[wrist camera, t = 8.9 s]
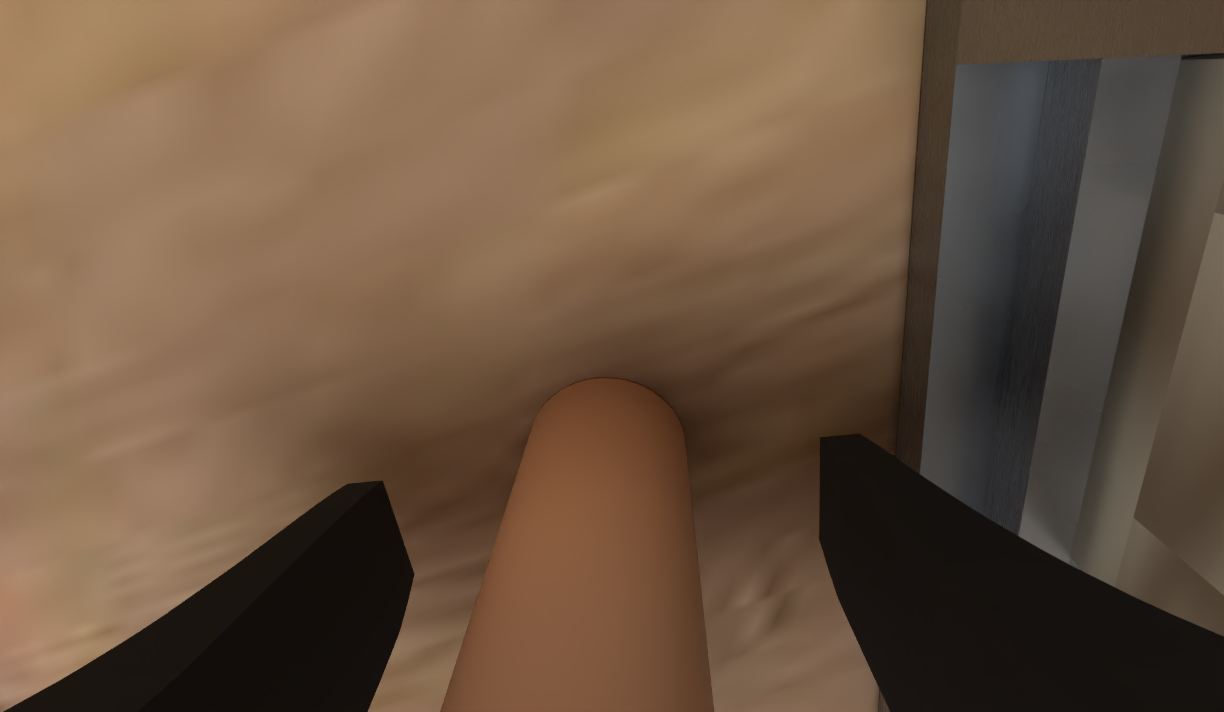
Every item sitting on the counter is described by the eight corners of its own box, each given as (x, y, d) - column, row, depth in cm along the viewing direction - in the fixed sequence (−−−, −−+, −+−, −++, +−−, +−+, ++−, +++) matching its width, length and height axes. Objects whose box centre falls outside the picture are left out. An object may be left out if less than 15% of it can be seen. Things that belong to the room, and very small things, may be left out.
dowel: (695, 500, 12) (747, 954, 6) (549, 518, 13) (453, 965, 6) (672, 366, 11) (709, 759, 5) (512, 390, 11) (347, 784, 5)
